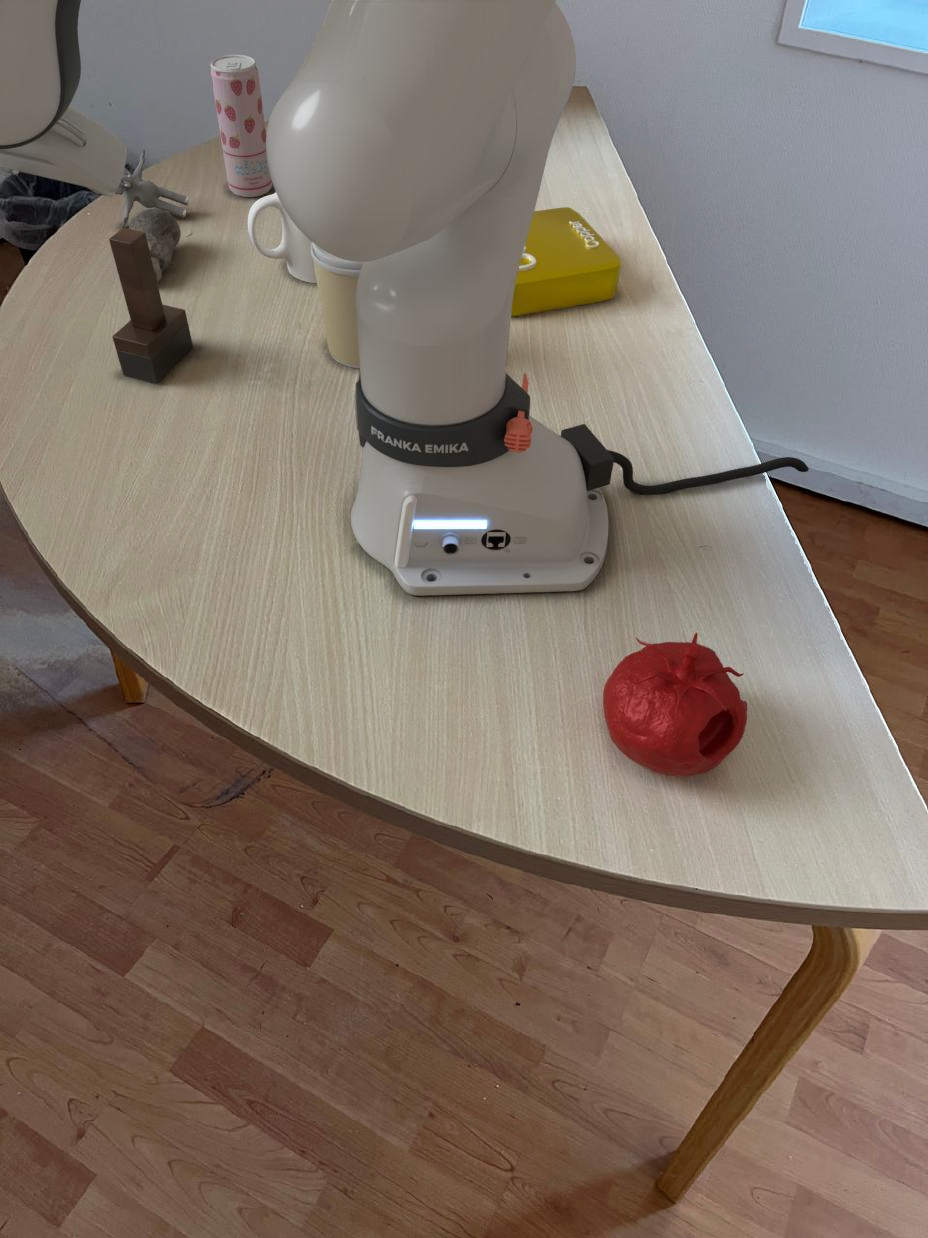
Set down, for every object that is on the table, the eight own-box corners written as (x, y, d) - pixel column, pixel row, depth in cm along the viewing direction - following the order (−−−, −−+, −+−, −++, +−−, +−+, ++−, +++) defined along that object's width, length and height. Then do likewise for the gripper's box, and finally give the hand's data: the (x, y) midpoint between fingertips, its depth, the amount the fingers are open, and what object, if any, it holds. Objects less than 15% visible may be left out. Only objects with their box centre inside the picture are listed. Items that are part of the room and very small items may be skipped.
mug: (268, 296, 105) (255, 205, 97) (246, 263, 109) (231, 173, 101) (366, 274, 108) (361, 184, 100) (341, 243, 113) (334, 155, 105)
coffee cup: (427, 348, 99) (426, 239, 90) (362, 384, 94) (355, 274, 85) (367, 314, 103) (361, 207, 94) (302, 347, 98) (289, 238, 89)
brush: (160, 339, 98) (129, 214, 88) (193, 348, 98) (166, 222, 87) (123, 375, 94) (86, 248, 84) (157, 384, 93) (124, 256, 83)
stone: (161, 298, 105) (200, 238, 104) (118, 268, 102) (157, 205, 100) (146, 280, 113) (182, 223, 111) (105, 251, 109) (142, 193, 108)
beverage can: (238, 201, 119) (218, 73, 108) (222, 183, 122) (202, 57, 111) (279, 192, 121) (264, 66, 110) (263, 175, 124) (246, 50, 113)
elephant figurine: (176, 239, 113) (99, 211, 110) (177, 254, 118) (104, 228, 116) (198, 160, 113) (122, 130, 110) (198, 180, 119) (126, 152, 116)
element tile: (622, 299, 106) (629, 259, 103) (501, 320, 103) (503, 280, 99) (568, 238, 116) (573, 200, 112) (455, 255, 112) (456, 216, 108)
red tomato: (579, 767, 65) (597, 688, 58) (615, 663, 71) (636, 581, 64) (719, 814, 63) (755, 738, 56) (743, 703, 69) (779, 622, 62)
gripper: (61, 62, 60) (179, 160, 73) (-181, 14, 64) (-29, 114, 78) (38, 160, 60) (158, 239, 74) (-201, 106, 65) (-46, 189, 78)
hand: (60, 175), depth 76 cm, fingers open, 8 cm apart
